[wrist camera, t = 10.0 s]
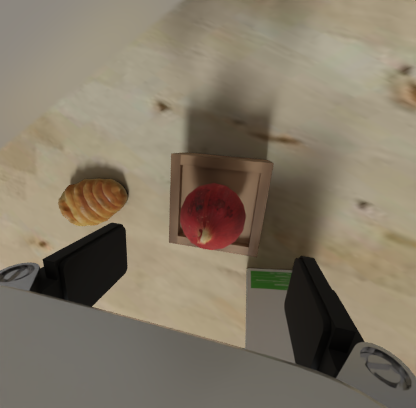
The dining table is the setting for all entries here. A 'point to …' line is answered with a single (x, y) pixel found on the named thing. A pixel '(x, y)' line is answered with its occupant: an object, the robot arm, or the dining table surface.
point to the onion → (212, 216)
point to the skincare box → (267, 313)
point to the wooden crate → (228, 176)
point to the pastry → (92, 201)
